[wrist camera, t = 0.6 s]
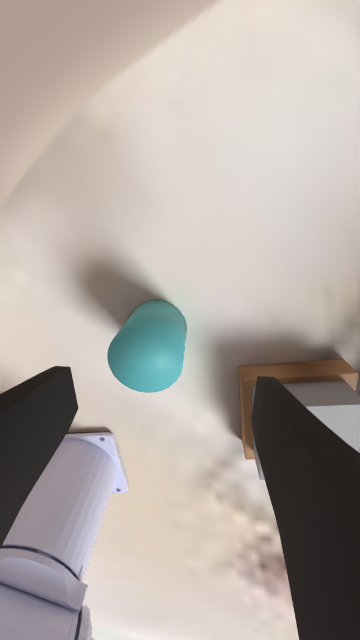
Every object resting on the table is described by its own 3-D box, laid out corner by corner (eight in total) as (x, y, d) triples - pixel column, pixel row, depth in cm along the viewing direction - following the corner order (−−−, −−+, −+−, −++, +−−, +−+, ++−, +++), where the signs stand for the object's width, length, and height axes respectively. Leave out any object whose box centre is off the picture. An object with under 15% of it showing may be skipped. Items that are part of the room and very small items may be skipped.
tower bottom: (241, 435, 23) (245, 459, 21) (237, 362, 20) (242, 380, 18) (330, 432, 22) (345, 456, 20) (339, 355, 20) (358, 373, 17)
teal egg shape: (135, 355, 20) (116, 394, 16) (124, 303, 19) (99, 329, 14) (189, 350, 20) (186, 390, 15) (182, 297, 18) (177, 322, 14)
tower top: (253, 450, 21) (260, 479, 18) (251, 385, 18) (259, 408, 16) (335, 448, 20) (353, 478, 17) (345, 380, 18) (367, 404, 15)
